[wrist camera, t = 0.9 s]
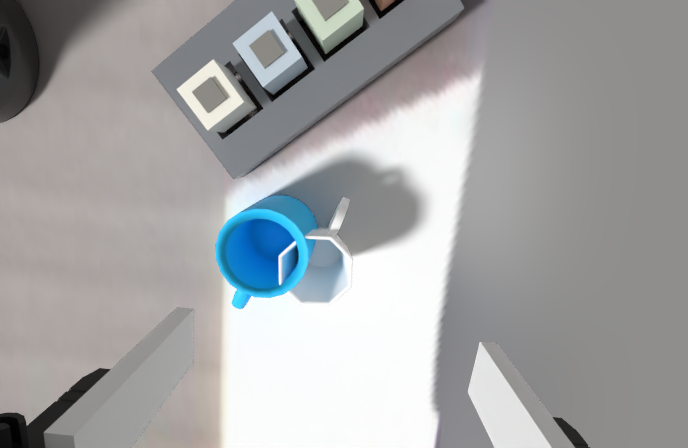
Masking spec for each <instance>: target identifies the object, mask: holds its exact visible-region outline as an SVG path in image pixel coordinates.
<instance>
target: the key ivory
mask: <svg viewBox="0 0 688 448" xmlns="http://www.w3.org/2000/svg"><path fill="white" fill-rule="evenodd" d="M177 91H178V92H179V93H180V95H181V96H182V97H183V99H184V100H185V101H186V103H187V104H188V105H189V107H190V108H191V109H192V111H193V112H194V113H195V115H196V116H197V117H198V119H199V120H200V121H201V123H202V124H203V125H204V127H205V128H206V129H207V130H208V131H215V132H223V133H224V132H225V131H227V130H228V129H229V128H231V127H232V126H233V125H235V124H236V123H237V122H238V121H240V120H241V119H242V118H244V117H245V116H246V115H247V114H249V113H250V112H251V111H253V110H254V109H255V108H257V107H256V106H255V104H254V103H253V102H252V100H251V99H250V97H249V96H248V95H247V93H246V92H245V90H244V89H243V88H242V86H241V85H240V83H239V82H238V81H237V79H236V78H235V76H234V75H233V74H232V72H231V71H230V70H229V69H228V68H226V67H225V66H223V65H222V64H220V63H219V62H217V61H215V60H214V59H213V60H212V61H210V62H209V63H208V64H207V65H205V66H204V67H203V68H202V69H201V70H199V71H198V72H197V73H196V74H195V75H193V76H192V77H191V78H190V79H188V80H187V81H186V82H185V83H184V84H182V85H181V86H180V87H179V88H177Z"/></svg>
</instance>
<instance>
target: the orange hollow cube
mask: <svg viewBox="0 0 688 448" xmlns="http://www.w3.org/2000/svg"><path fill="white" fill-rule="evenodd" d="M394 1H395V0H375V2H376V4H377V5H378V7H379V9H380V10H381V11H382V10H384V9H385V8H386V7H388V6H389V5H390V4H391V3H393V2H394Z"/></svg>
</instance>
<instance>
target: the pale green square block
mask: <svg viewBox="0 0 688 448" xmlns="http://www.w3.org/2000/svg"><path fill="white" fill-rule="evenodd" d="M294 1H295V3H296V6H297V8H298V11H299V14H300V15H301V17H302V18H303V20H304V21H305V23H306V25H307V26H308V28H309V29H310V31H311V32H312V34H313V35H314V37H315V38H316V40H317V42H318V43H319V45H320V46H321V48H322V49H323V51H324V52H325V54H327V53H328V52H329V51H330V50H332V49H333V48H334V47H336V46H337V45H338V44H340V43H341V42H342V41H343V40H345V39H346V38H347V37H349V36H350V35H351V34H353V33H354V32H355V31H356V30H358V29H359V28H360V27H362V24H363V14H364V8H363V6H362V4H361V3H360V1H359V0H294Z"/></svg>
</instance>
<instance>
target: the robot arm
mask: <svg viewBox="0 0 688 448" xmlns="http://www.w3.org/2000/svg"><path fill="white" fill-rule="evenodd" d="M38 64H39V63H38V51H37V45H36V41H35V37H34V34H33V31H32V28H31V26H30V23H29V21H28V19H27V17H26V15H25V13H24V12H23V10H22V8H21V7H20V5H19V4H18V2H17V1H16V0H0V123H1V122H4V121H6V120H8V119H10V118H12V117H13V116H15V115H16V114H17V113H18V112H19V111H20V110H21V109H22V108H23V107H24V106H25V105H26V104H27V102H28V101H29V99H30V97H31V95H32V93H33V91H34V88H35V85H36V81H37V76H38ZM193 362H194V309H189V308H180V307H177V308H176V309H175V310H174V311H173V312H172V313H170V314H169V315H168V316H167V317H166V318H165V319H164V320H163V321H162V322H161V323H160V324H159V325H158V326H157V327H156V328H154V329H153V330H152V331H151V332H150V333H149V334H148V335H147V336H146V337H145V338H144V339H143V340H142V341H141V342H140V343H138V344H137V345H136V346H135V347H134V348H133V349H132V350H131V351H130V352H129V353H128V354H127V355H126V356H125V357H124V358H122V359H121V360H120V361H119V362H118V363H117V364H116V365H115V366H114V367H113V368H112V369H102V368H99V369H98V370H96V371H94V372H92V373H90V374H88V375H87V376H85V377H83V378H82V379H80V380H79V381H78V382H77V383H76V384H75V385H74V386H72V387H71V388H70V389H69V391H68V392H65V393H64V394H63V395H62V396H61V397H60V398H59V399H58V401H57V402H56V401H55V402H54V403H53V404H52V405H51V406H49V407H48V408H47V409H46V410H45V411H44V412H42V413H41V414H40V415H39V416H38V417H37V418H36V419H34V420H33V421H32V422H31V423H30V424H29V425H28V426H26V421H25V418H24V416H23V415H21V414H19V413H3V414H0V448H132V447H133V445H134V444H135V443H136V441H137V440H138V438H139V437H140V436H141V434H142V433H143V431H144V430H145V429H146V427H147V426H148V424H149V423H150V422H151V420H152V419H153V418H154V416H155V415H156V413H157V412H158V411H159V409H160V408H161V406H162V405H163V404H164V402H165V401H166V399H167V398H168V397H169V395H170V394H171V393H172V391H173V390H174V388H175V387H176V386H177V384H178V383H179V381H180V380H181V379H182V377H183V376H184V374H185V373H186V372H187V370H188V369H189V367H190V366H191V365H192V363H193ZM468 394H469V396H470V397H471V400H472V402H473V404H474V406H475V408H476V410H477V412H478V414H479V416H480V418H481V420H482V422H483V424H484V427H485V428H486V431H487V433H488V435H489V437H490V439H491V441H492V443H493V445H494V447H495V448H590V447H588V444H587V443H586V442H585V441H584V439H583V438H582V437H581V435H580V434H579V433H578V432H577V431H576V430H575V429H574V428H572V426H570V425H569V424H568V423H567V422H566V421H564V420H563V419H562V418H555V417H552V416H551V415H550V414H549V412H548V411H547V410H546V408H545V407H544V406H543V404H542V403H541V402H540V400H539V399H538V398H537V396H536V395H535V394H534V393H533V391H532V390H531V389H530V387H529V386H528V384H527V383H526V382H525V380H524V379H523V378H522V377H521V375H520V374H519V372H518V371H517V370H516V368H515V367H514V366H513V364H512V363H511V362H510V360H509V359H508V358H507V356H506V355H505V354H504V352H503V351H502V350H501V348H500V347H499V346H498V344H497V343H490V342H480V344H479V348H478V352H477V356H476V361H475V365H474V369H473V373H472V377H471V381H470V385H469V389H468Z"/></svg>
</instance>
